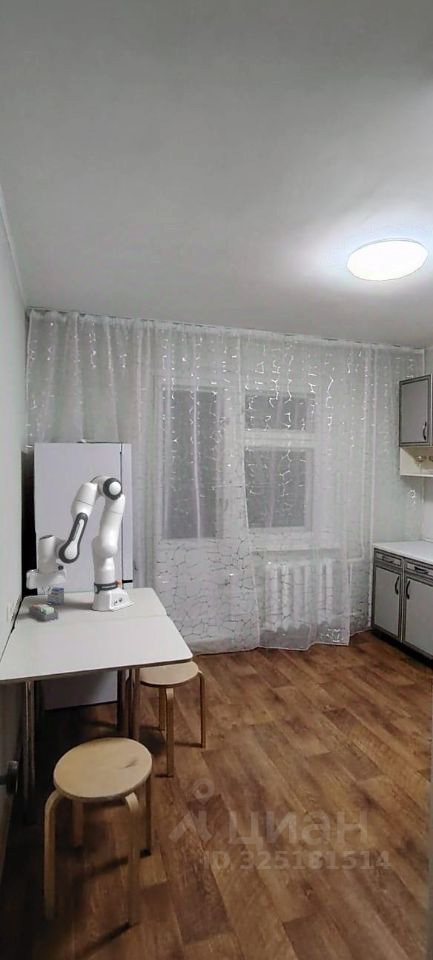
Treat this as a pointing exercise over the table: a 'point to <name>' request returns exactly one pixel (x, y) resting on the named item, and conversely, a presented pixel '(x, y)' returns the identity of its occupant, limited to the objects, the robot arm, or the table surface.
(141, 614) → the table surface
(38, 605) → the terracotta key
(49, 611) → the sage key
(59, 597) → the medicine box
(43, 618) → the grey compartment tray
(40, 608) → the light grey square block
